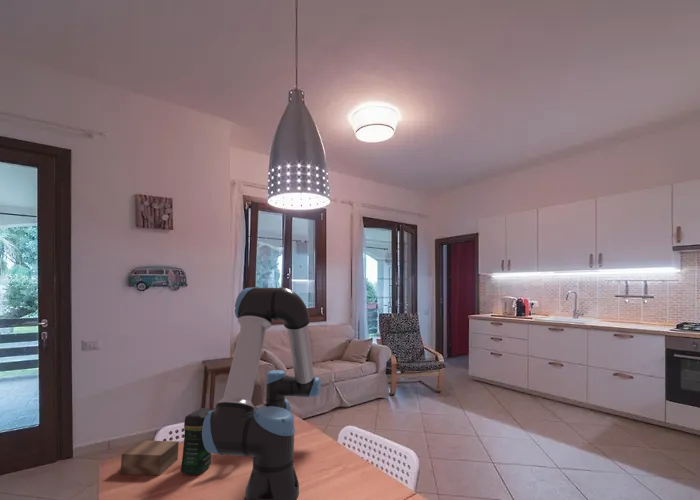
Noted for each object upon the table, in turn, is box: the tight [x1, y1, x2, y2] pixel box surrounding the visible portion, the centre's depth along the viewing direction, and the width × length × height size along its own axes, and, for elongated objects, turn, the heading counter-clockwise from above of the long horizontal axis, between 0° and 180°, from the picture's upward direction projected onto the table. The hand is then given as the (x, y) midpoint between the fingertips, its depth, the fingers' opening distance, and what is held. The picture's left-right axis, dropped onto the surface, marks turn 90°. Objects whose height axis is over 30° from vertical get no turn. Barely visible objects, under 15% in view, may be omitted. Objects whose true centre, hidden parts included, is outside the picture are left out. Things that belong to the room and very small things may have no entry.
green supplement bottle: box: [180, 407, 213, 476], centre depth 122 cm, size 10×8×19 cm
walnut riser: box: [119, 439, 179, 476], centre depth 123 cm, size 13×11×6 cm
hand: (203, 433), depth 125 cm, fingers open, 13 cm apart
